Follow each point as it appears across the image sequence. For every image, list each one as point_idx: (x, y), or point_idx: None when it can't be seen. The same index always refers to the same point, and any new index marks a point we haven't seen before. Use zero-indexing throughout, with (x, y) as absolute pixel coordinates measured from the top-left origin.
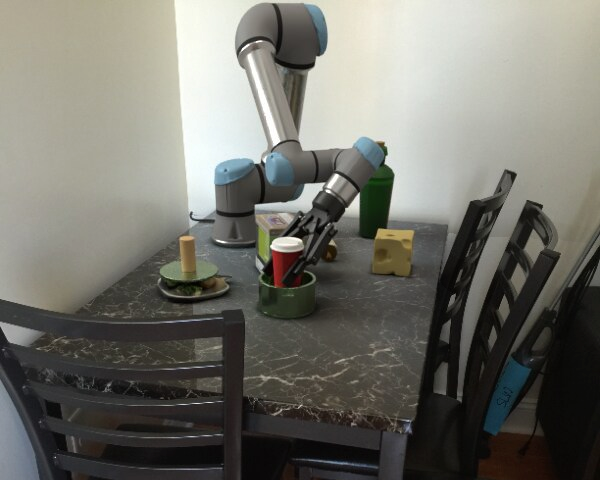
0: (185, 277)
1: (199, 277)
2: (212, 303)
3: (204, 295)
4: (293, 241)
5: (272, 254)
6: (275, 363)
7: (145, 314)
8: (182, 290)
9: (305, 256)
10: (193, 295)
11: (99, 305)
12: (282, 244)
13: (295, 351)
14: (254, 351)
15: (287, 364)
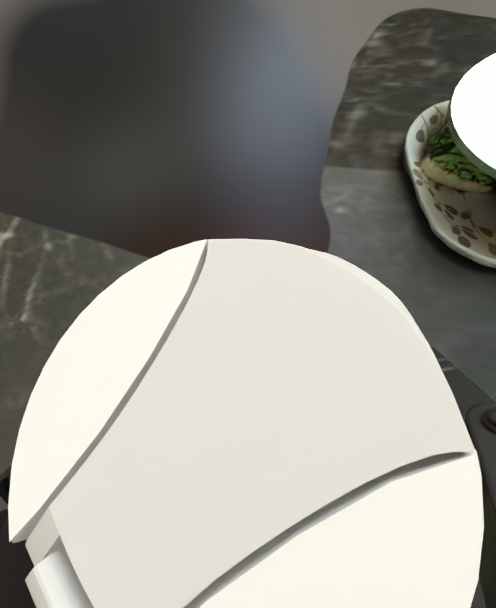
0: (481, 96)
1: (473, 130)
2: (386, 213)
3: (415, 184)
4: (165, 526)
5: (447, 365)
6: (26, 268)
7: (355, 87)
8: (443, 125)
9: (7, 521)
10: (422, 159)
11: (433, 19)
12: (131, 306)
13: (38, 322)
14: (88, 245)
15: (9, 287)
